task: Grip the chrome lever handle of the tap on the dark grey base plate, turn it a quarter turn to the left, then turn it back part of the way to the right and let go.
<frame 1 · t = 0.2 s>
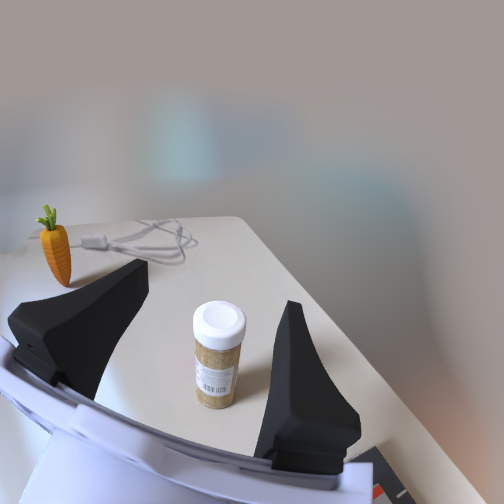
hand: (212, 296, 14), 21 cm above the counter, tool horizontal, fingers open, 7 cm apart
sprinkles bottle: (215, 395, 30), on the counter
carrot: (66, 287, 41), on the counter
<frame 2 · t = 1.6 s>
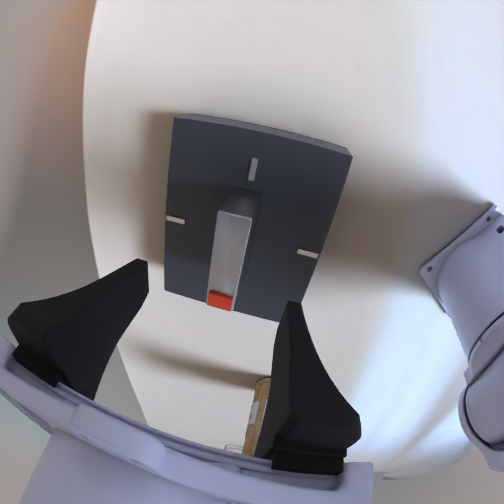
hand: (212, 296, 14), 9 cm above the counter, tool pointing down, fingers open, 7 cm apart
tap handle: (233, 250, 17), point 5 cm above the counter, hinge at 0.0°
sprinkles bottle: (273, 384, 33), on the counter
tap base: (248, 216, 22), on the counter
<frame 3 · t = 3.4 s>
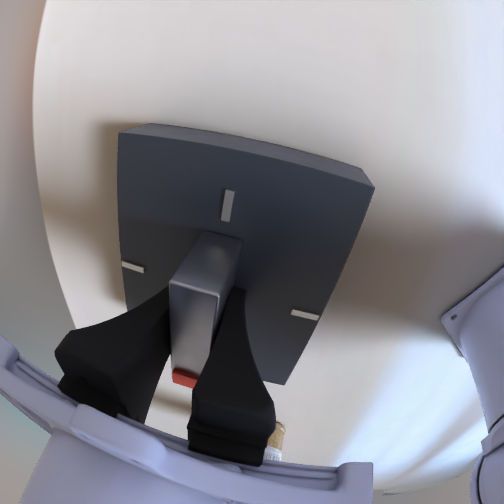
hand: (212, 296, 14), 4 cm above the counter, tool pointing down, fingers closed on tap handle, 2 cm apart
tap handle: (202, 318, 12), point 5 cm above the counter, hinge at 0.0°, touching gripper
sprinkles bottle: (267, 424, 28), on the counter
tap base: (229, 258, 17), on the counter
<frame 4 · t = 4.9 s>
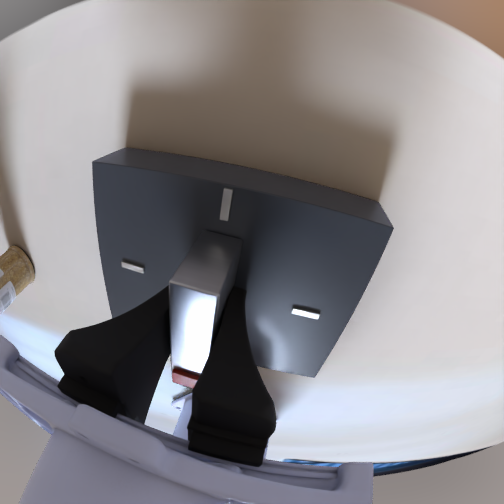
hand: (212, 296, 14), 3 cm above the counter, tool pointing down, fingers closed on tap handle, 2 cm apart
tap handle: (202, 317, 12), point 5 cm above the counter, hinge at 89.2°, touching gripper
sprinkles bottle: (24, 262, 22), on the counter
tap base: (229, 257, 17), on the counter
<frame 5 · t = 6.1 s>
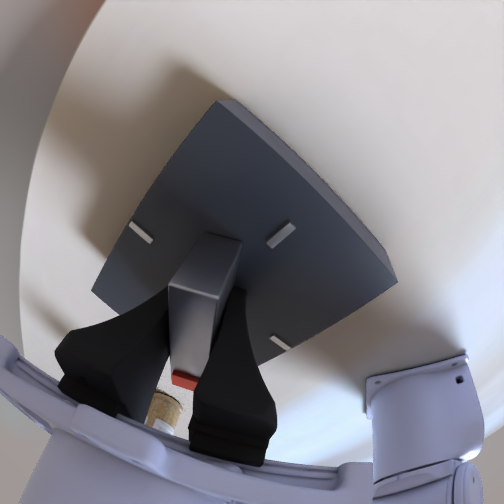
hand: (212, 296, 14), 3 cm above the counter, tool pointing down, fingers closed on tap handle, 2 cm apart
tap handle: (202, 320, 12), point 5 cm above the counter, hinge at 30.7°, touching gripper
sprinkles bottle: (166, 400, 29), on the counter
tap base: (229, 259, 17), on the counter
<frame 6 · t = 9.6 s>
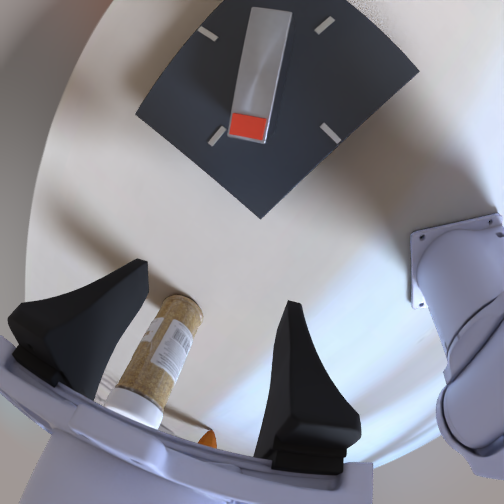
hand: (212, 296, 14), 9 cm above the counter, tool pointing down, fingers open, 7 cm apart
tap handle: (264, 75, 12), point 5 cm above the counter, hinge at 30.7°
sprinkles bottle: (184, 309, 28), on the counter
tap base: (274, 81, 16), on the counter
carrot: (211, 429, 45), on the counter
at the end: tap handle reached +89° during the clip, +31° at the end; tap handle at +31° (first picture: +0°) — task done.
